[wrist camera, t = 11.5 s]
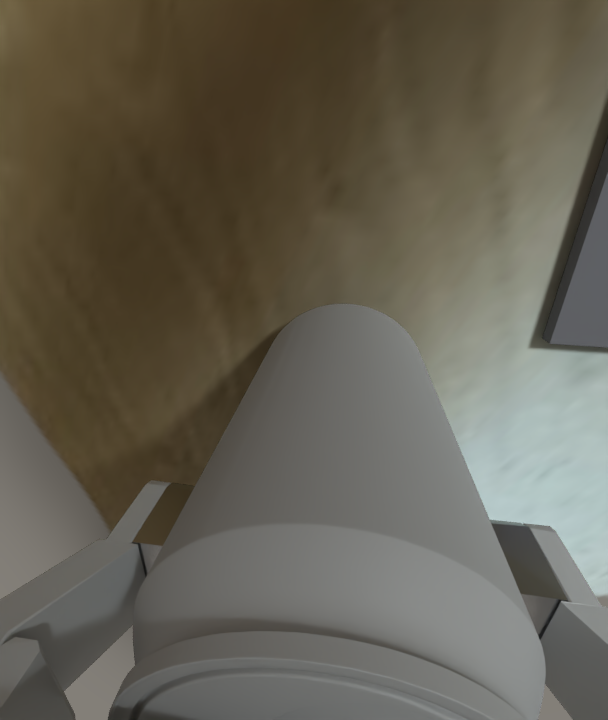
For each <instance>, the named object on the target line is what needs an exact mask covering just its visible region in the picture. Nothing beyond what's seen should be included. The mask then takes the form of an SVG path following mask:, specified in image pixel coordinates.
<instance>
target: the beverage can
mask: <svg viewBox="0 0 608 720" xmlns="http://www.w3.org/2000/svg"><path fill="white" fill-rule="evenodd" d="M133 646H134V658H135V666H134V668H132V670H131V671H130V672H129V673H128V675H127V676H126V678H125V679H124V681H123V683H122V685H121V687H120V689H119V691H118V693H117V696H116V698H115V700H114V702H113V704H112V707H111V709H110V712H109V717H108V720H538V717H539V713H540V708H541V704H542V699H543V693H544V685H545V677H546V666H545V657H544V652H543V648H542V645H541V642H540V639H539V637H538V634H537V632H536V629H535V627H534V625H533V622H532V620H531V617H530V615H529V613H528V610H527V608H526V605H525V603H524V601H523V598H522V596H521V594H520V591H519V589H518V586H517V584H516V582H515V579H514V577H513V574H512V572H511V570H510V567H509V565H508V562H507V560H506V558H505V555H504V553H503V551H502V548H501V546H500V543H499V541H498V539H497V536H496V534H495V531H494V529H493V527H492V524H491V522H490V519H489V517H488V515H487V512H486V510H485V508H484V505H483V503H482V500H481V498H480V496H479V493H478V491H477V488H476V486H475V484H474V481H473V479H472V476H471V474H470V472H469V469H468V467H467V465H466V462H465V460H464V457H463V455H462V453H461V450H460V448H459V445H458V443H457V441H456V438H455V436H454V433H453V431H452V429H451V426H450V424H449V422H448V419H447V417H446V414H445V412H444V410H443V407H442V405H441V402H440V400H439V398H438V395H437V393H436V390H435V388H434V386H433V383H432V381H431V379H430V376H429V374H428V371H427V369H426V367H425V364H424V362H423V359H422V357H421V355H420V352H419V350H418V348H417V346H416V344H415V342H414V341H413V339H412V338H411V336H410V335H409V334H408V333H407V331H406V330H405V329H404V328H403V327H402V326H401V325H400V324H398V323H397V322H396V321H395V320H393V319H392V318H390V317H389V316H387V315H385V314H384V313H382V312H379V311H377V310H374V309H372V308H369V307H365V306H361V305H355V304H331V305H324V306H320V307H317V308H314V309H311V310H309V311H307V312H305V313H303V314H301V315H299V316H297V317H296V318H295V319H293V320H292V321H291V322H290V323H288V324H287V325H286V326H285V327H284V328H283V329H282V330H281V331H280V333H279V334H278V335H277V337H276V338H275V340H274V341H273V343H272V345H271V347H270V349H269V350H268V352H267V354H266V356H265V358H264V360H263V362H262V363H261V365H260V367H259V369H258V371H257V373H256V374H255V376H254V378H253V380H252V382H251V384H250V386H249V387H248V389H247V391H246V393H245V395H244V397H243V398H242V400H241V402H240V404H239V406H238V408H237V410H236V411H235V413H234V415H233V417H232V419H231V421H230V423H229V424H228V426H227V428H226V430H225V432H224V434H223V435H222V437H221V439H220V441H219V443H218V445H217V447H216V448H215V450H214V452H213V454H212V456H211V458H210V460H209V461H208V463H207V465H206V467H205V469H204V471H203V472H202V474H201V476H200V478H199V480H198V482H197V484H196V485H195V487H194V489H193V491H192V493H191V495H190V496H189V498H188V500H187V502H186V504H185V506H184V508H183V509H182V511H181V513H180V515H179V517H178V519H177V521H176V522H175V524H174V526H173V528H172V530H171V532H170V533H169V535H168V537H167V539H166V541H165V543H164V545H163V546H162V548H161V550H160V552H159V554H158V556H157V558H156V559H155V561H154V563H153V565H152V567H151V569H150V570H149V572H148V574H147V576H146V578H145V580H144V582H143V583H142V585H141V587H140V589H139V591H138V594H137V597H136V600H135V605H134V610H133Z"/></svg>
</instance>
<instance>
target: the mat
mask: <svg viewBox="0 0 608 720" xmlns="http://www.w3.org/2000/svg"><path fill="white" fill-rule="evenodd" d="M543 339H544V340H545V341H547V342H548V343H550V344H563V345H578V346H593V347H608V139H607V142H606V145H605V148H604V151H603V154H602V157H601V160H600V164H599V167H598V170H597V173H596V176H595V179H594V182H593V185H592V188H591V191H590V194H589V197H588V200H587V203H586V206H585V209H584V212H583V215H582V218H581V222H580V225H579V228H578V231H577V234H576V237H575V240H574V243H573V246H572V249H571V252H570V255H569V258H568V261H567V264H566V267H565V270H564V273H563V276H562V280H561V283H560V286H559V289H558V292H557V295H556V298H555V301H554V304H553V307H552V310H551V313H550V316H549V319H548V322H547V325H546V328H545V331H544V335H543Z"/></svg>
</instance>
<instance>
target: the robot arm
mask: <svg viewBox="0 0 608 720" xmlns="http://www.w3.org/2000/svg"><path fill="white" fill-rule="evenodd" d="M194 487H195V486H193V485H186V484H179V483H169V482H162V481H155V480H151V481H150V482H148V483H147V484H146V485H145V486H144V487H143V489H142V490H141V491H140V493H139V494H138V495H137V497H136V498H135V500H134V501H133V502H132V504H131V505H130V507H129V508H128V509H127V511H126V512H125V514H124V515H123V516H122V518H121V519H120V521H119V522H118V523H117V525H116V526H115V528H114V529H113V530H112V532H111V533H110V535H109V536H108V537H107V539H106V540H104V539H99V540H97V541H95V542H94V543H92V544H90V545H89V546H87V547H85V548H84V549H82V550H80V551H79V552H77V553H76V554H74V555H72V556H71V557H69V558H67V559H66V560H64V561H63V562H61V563H59V564H58V565H56V566H54V567H53V568H51V569H49V570H48V571H46V572H44V573H43V574H41V575H40V576H38V577H36V578H35V579H33V580H31V581H30V582H28V583H26V584H25V585H23V586H22V587H20V588H18V589H17V590H15V591H13V592H12V593H10V594H9V595H7V596H5V597H4V598H2V599H1V600H0V720H76V719H75V713H74V711H73V709H72V707H71V705H70V704H69V702H68V700H67V697H66V695H65V693H64V691H65V690H66V689H67V688H68V687H69V686H70V685H71V684H72V683H73V682H74V681H75V680H76V679H77V678H78V677H79V676H80V675H81V674H82V673H83V672H84V671H85V670H86V669H87V668H88V667H89V666H90V665H92V663H94V662H95V660H97V659H98V658H99V657H100V656H101V655H102V654H103V653H104V652H105V651H106V650H107V649H108V648H109V647H110V646H111V645H112V644H113V643H114V642H115V641H116V640H117V639H119V637H121V636H122V635H123V634H124V633H125V632H126V631H127V630H128V629H129V628H130V627H131V626H132V625H133V610H134V605H135V600H136V597H137V594H138V591H139V589H140V587H141V585H142V583H143V582H144V580H145V578H146V576H147V574H148V572H149V570H150V569H151V567H152V565H153V563H154V561H155V559H156V558H157V556H158V554H159V552H160V550H161V548H162V546H163V545H164V543H165V541H166V539H167V537H168V535H169V533H170V532H171V530H172V528H173V526H174V524H175V522H176V521H177V519H178V517H179V515H180V513H181V511H182V509H183V508H184V506H185V504H186V502H187V500H188V498H189V496H190V495H191V493H192V491H193V489H194ZM490 522H491V524H492V527H493V529H494V531H495V534H496V536H497V539H498V541H499V543H500V546H501V548H502V551H503V553H504V555H505V558H506V560H507V562H508V565H509V567H510V570H511V572H512V574H513V577H514V579H515V582H516V584H517V586H518V589H519V591H520V594H521V596H522V598H523V601H524V603H525V605H526V608H527V610H528V613H529V615H530V617H531V620H532V622H533V625H534V627H535V629H536V632H537V634H538V637H539V639H540V642H541V645H542V648H543V652H544V657H545V666H546V677H545V684H546V686H547V687H548V688H549V689H550V691H551V692H552V693H553V694H554V696H555V697H556V698H557V700H558V701H559V702H560V703H561V705H562V706H563V707H564V708H565V710H566V711H567V712H568V714H569V715H570V716H571V717H572V719H573V720H608V607H603V606H601V604H600V603H599V601H598V599H597V598H596V596H595V595H594V593H593V591H592V590H591V588H590V586H589V585H588V583H587V582H586V580H585V578H584V577H583V575H582V573H581V572H580V570H579V569H578V567H577V565H576V564H575V562H574V560H573V559H572V557H571V556H570V554H569V552H568V551H567V549H566V547H565V546H564V544H563V543H562V541H561V539H560V538H559V536H558V534H557V533H556V531H555V530H554V529H552V528H551V527H550V526H543V525H534V524H522V523H516V522H507V521H497V520H490Z"/></svg>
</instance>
